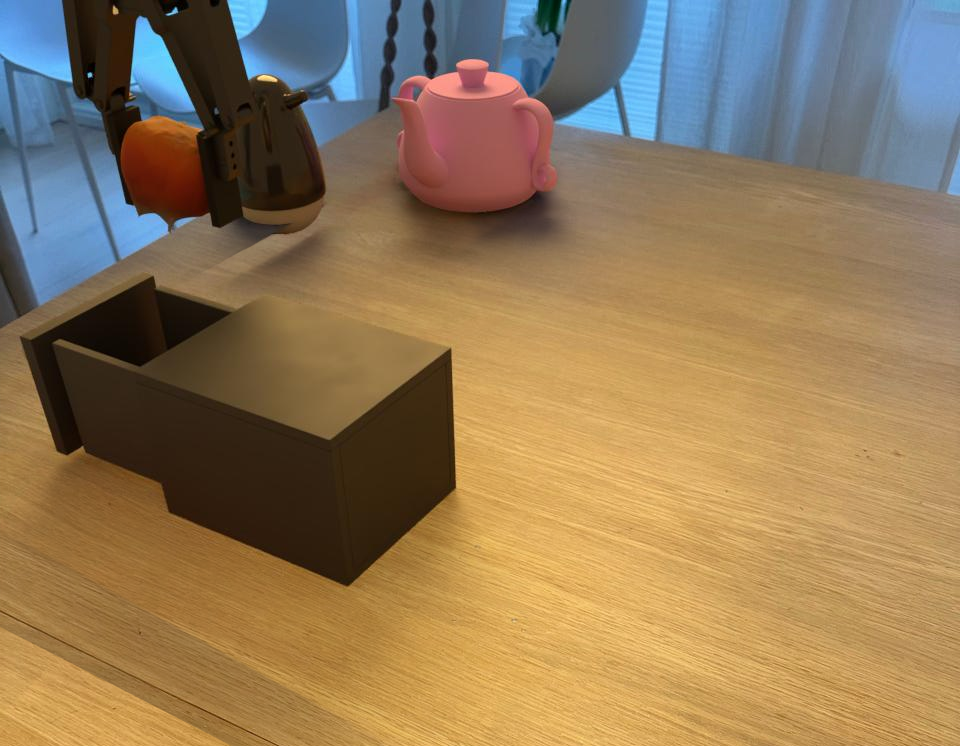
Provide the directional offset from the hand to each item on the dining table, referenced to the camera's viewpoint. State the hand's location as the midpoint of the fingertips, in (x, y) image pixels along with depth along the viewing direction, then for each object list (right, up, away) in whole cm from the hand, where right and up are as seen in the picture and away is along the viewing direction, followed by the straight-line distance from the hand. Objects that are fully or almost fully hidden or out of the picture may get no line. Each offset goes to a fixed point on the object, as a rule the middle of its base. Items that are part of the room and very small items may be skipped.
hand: (184, 209), depth 84 cm
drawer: (-2, -17, +3) cm, 17 cm away
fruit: (0, 0, 0) cm, 0 cm away
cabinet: (+10, -23, -2) cm, 25 cm away
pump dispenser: (+1, +12, +36) cm, 38 cm away
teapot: (+21, +17, +40) cm, 49 cm away
